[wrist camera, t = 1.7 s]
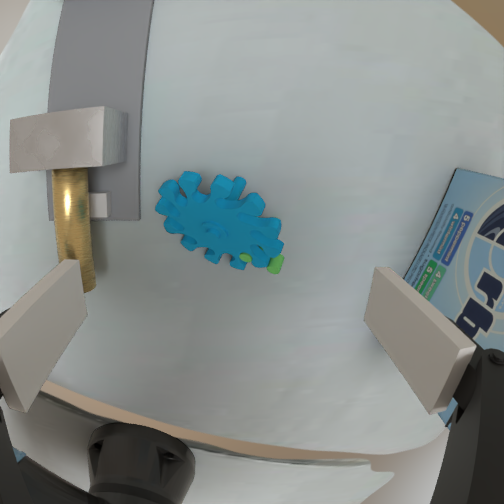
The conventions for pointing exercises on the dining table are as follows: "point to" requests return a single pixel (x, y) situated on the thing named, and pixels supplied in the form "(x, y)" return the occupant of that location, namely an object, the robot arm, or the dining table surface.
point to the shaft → (73, 220)
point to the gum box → (466, 261)
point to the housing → (104, 89)
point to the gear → (222, 221)
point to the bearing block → (68, 139)
